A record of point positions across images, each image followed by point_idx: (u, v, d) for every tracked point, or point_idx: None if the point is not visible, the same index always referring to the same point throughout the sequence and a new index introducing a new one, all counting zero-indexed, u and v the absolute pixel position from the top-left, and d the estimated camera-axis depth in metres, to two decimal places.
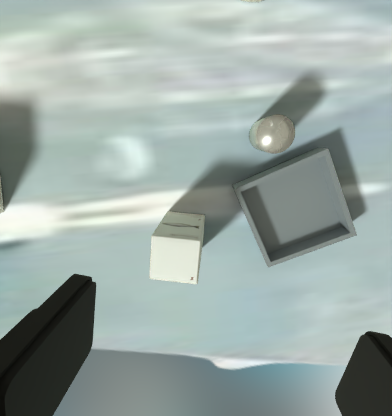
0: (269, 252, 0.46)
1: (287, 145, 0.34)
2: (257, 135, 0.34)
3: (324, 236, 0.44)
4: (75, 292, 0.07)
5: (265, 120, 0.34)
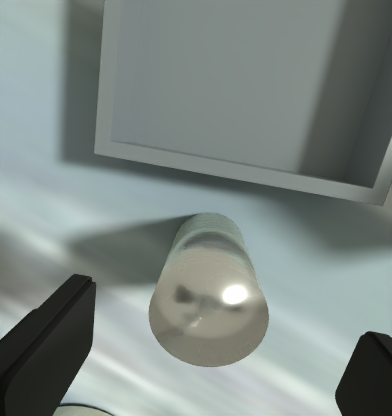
0: None
1: (194, 271, 0.10)
2: (254, 344, 0.11)
3: None
4: (75, 292, 0.07)
5: (211, 362, 0.11)
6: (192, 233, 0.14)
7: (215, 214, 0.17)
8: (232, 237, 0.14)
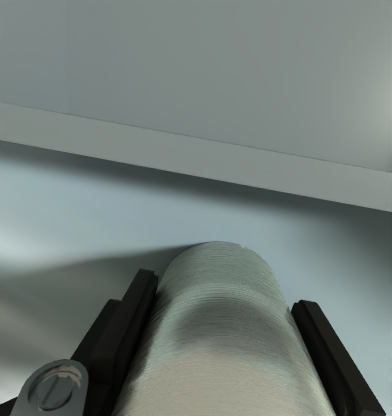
0: None
1: None
2: None
3: None
4: (147, 284, 0.08)
5: None
6: (186, 305, 0.07)
7: (231, 247, 0.10)
8: (274, 318, 0.06)
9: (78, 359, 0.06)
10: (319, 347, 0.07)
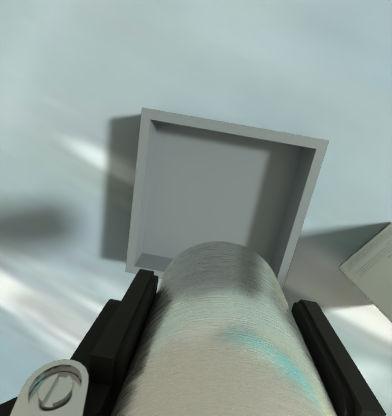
0: (297, 148, 0.23)
1: None
2: None
3: (194, 127, 0.22)
4: (147, 284, 0.08)
5: None
6: (186, 305, 0.07)
7: (231, 247, 0.10)
8: (275, 318, 0.06)
9: (78, 359, 0.06)
10: (319, 347, 0.07)
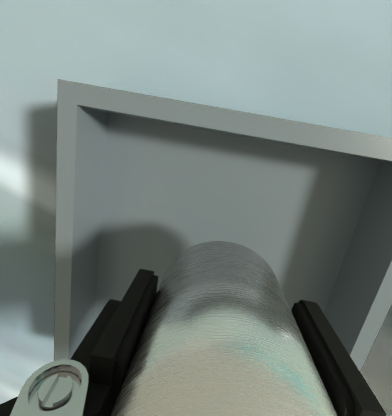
0: (368, 163, 0.12)
1: None
2: None
3: (173, 123, 0.11)
4: (147, 284, 0.08)
5: None
6: (186, 305, 0.06)
7: (231, 247, 0.10)
8: (275, 318, 0.06)
9: (78, 359, 0.06)
10: (319, 347, 0.07)
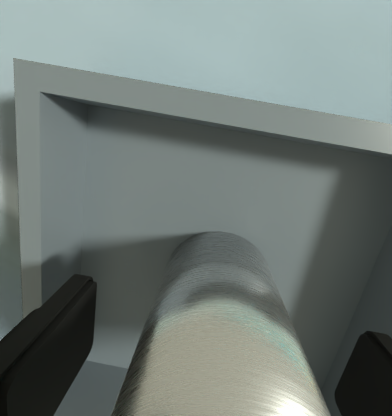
0: None
1: None
2: None
3: (165, 116, 0.09)
4: (76, 292, 0.07)
5: None
6: (189, 279, 0.08)
7: (227, 236, 0.11)
8: (261, 288, 0.08)
9: None
10: None
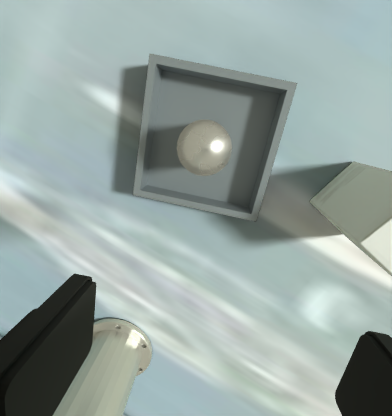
0: (275, 95, 0.28)
1: (198, 123, 0.23)
2: (225, 163, 0.23)
3: (191, 74, 0.27)
4: (75, 292, 0.07)
5: (205, 173, 0.24)
6: None
7: None
8: None
9: None
10: None
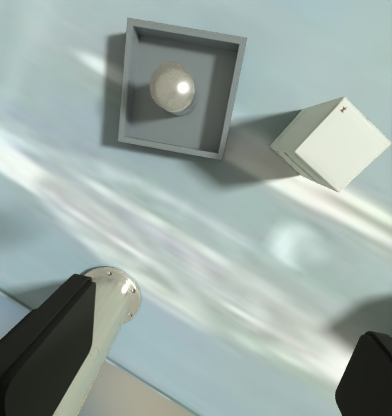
0: (233, 52, 0.34)
1: (165, 65, 0.28)
2: (189, 98, 0.29)
3: (163, 36, 0.34)
4: (75, 292, 0.07)
5: (173, 108, 0.30)
6: None
7: None
8: None
9: None
10: None
